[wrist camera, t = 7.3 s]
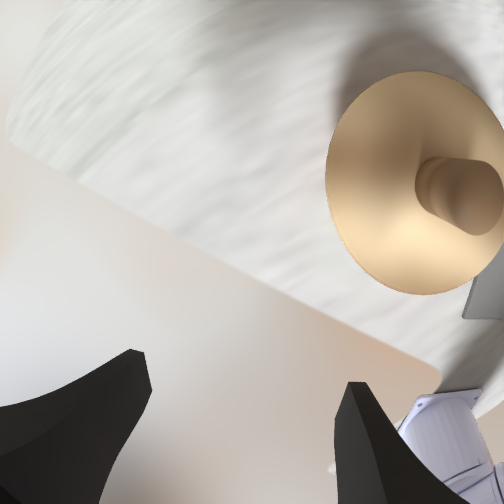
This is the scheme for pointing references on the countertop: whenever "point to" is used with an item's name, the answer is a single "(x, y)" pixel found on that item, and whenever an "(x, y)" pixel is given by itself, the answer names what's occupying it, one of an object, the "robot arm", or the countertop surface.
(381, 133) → the lid
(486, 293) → the mat
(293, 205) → the countertop surface
